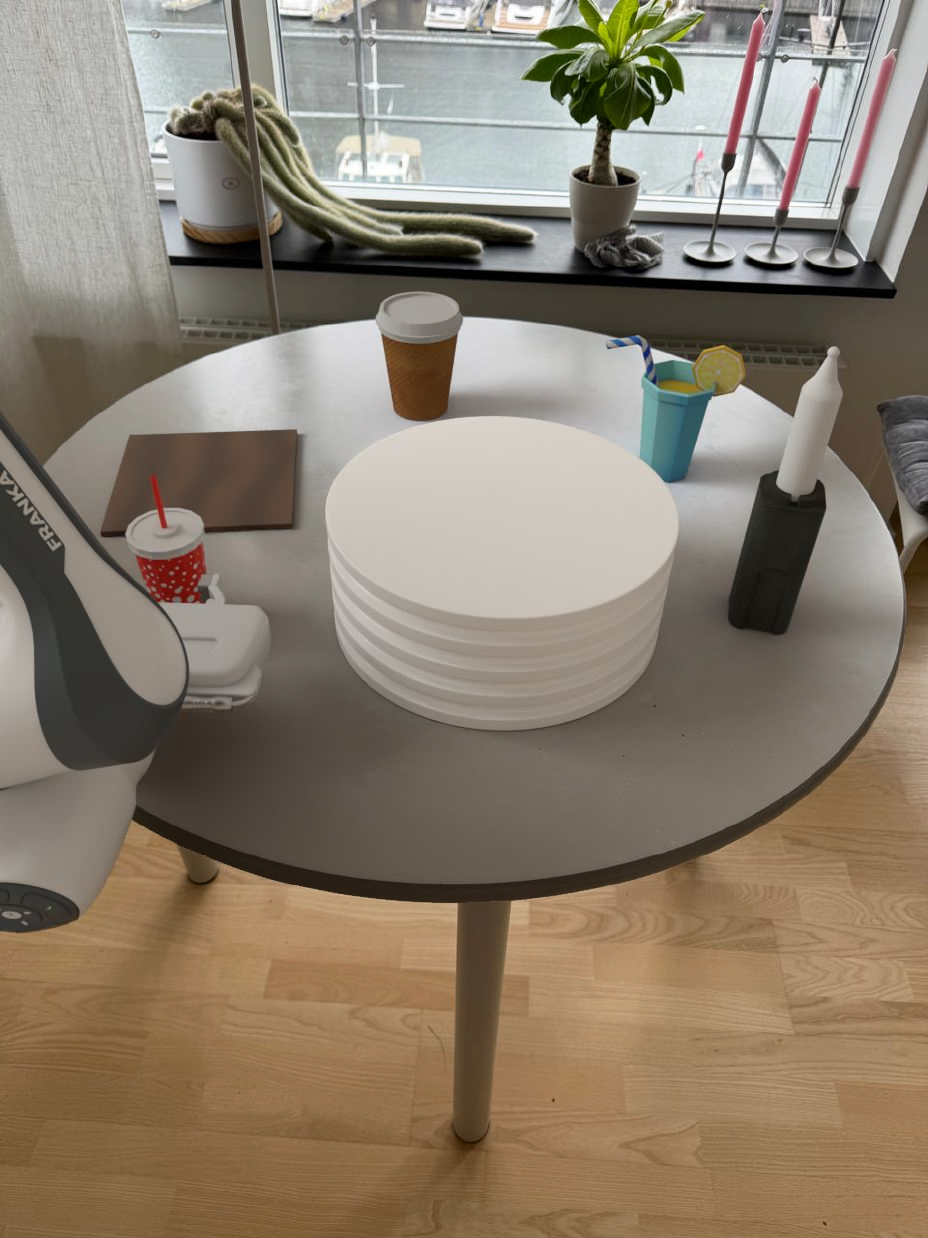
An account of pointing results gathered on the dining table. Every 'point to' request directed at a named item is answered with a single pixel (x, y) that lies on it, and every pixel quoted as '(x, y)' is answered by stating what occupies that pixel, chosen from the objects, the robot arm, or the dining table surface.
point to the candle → (787, 513)
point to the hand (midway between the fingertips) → (153, 578)
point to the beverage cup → (169, 551)
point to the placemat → (208, 479)
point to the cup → (679, 402)
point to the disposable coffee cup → (419, 351)
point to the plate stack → (499, 569)
